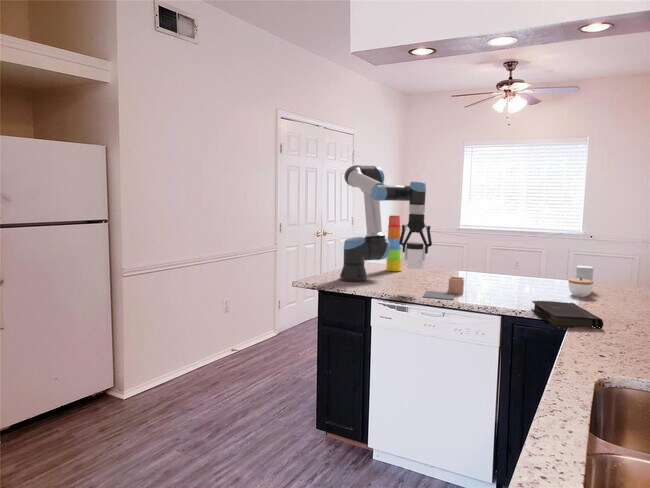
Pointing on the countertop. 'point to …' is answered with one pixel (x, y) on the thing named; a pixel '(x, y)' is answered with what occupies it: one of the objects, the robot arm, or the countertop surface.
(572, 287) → the lidded jar
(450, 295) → the mat
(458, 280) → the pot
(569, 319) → the diary
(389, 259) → the stacking cups
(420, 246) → the jar
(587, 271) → the supplement box
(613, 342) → the countertop surface
